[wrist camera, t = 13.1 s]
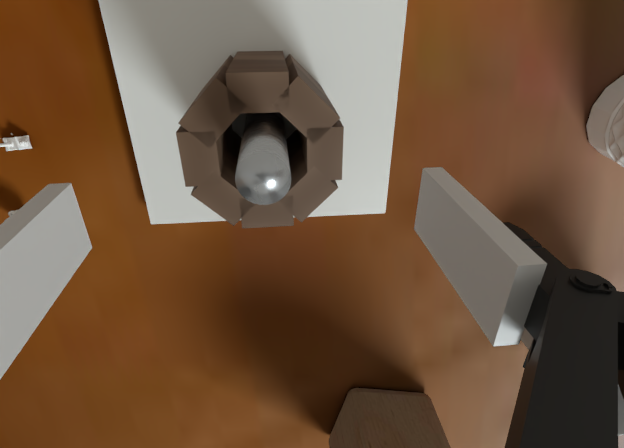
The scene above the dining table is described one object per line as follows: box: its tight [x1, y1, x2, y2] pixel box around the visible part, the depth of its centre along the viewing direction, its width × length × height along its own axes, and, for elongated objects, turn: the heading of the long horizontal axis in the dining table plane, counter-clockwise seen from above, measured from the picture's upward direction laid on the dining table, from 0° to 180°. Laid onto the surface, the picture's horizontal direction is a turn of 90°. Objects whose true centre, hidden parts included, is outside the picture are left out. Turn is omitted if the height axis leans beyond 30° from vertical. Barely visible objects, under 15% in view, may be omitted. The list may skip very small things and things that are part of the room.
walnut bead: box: [176, 51, 344, 228], centre depth 23 cm, size 8×8×8 cm
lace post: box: [235, 112, 291, 205], centre depth 22 cm, size 2×2×11 cm
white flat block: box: [98, 0, 408, 224], centre depth 27 cm, size 18×16×2 cm
